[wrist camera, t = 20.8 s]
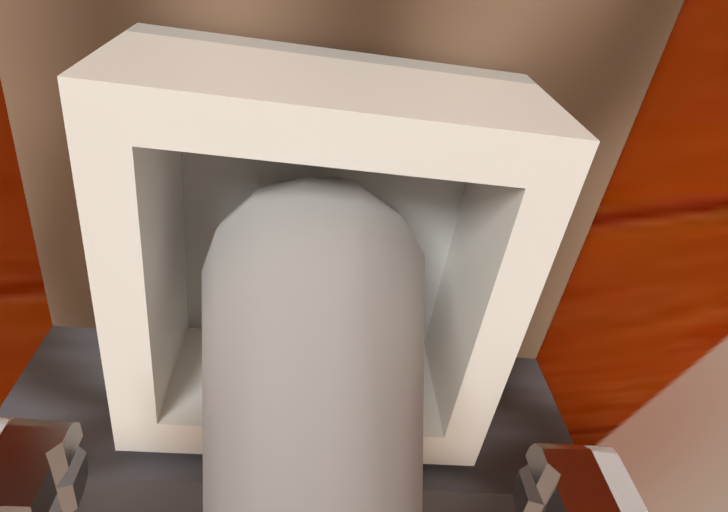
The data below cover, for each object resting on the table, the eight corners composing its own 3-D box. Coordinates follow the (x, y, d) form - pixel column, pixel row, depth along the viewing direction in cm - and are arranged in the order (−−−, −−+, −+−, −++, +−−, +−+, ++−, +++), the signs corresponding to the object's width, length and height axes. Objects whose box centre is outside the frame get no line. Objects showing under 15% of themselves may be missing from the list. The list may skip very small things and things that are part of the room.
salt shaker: (321, 101, 14) (348, 727, 4) (449, 238, 17) (688, 840, 6) (175, 233, 16) (-104, 917, 5) (311, 339, 19) (307, 944, 8)
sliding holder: (160, 332, 20) (115, 450, 16) (137, 22, 14) (57, 76, 10) (444, 352, 21) (474, 465, 17) (526, 74, 15) (600, 141, 11)
